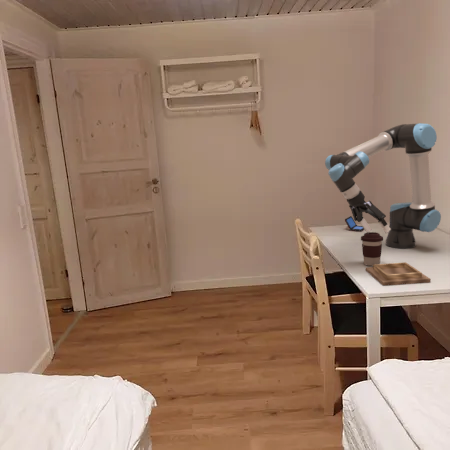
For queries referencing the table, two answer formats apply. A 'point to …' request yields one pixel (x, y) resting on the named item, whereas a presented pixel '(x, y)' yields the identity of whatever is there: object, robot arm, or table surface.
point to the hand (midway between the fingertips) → (378, 231)
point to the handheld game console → (353, 225)
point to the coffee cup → (371, 248)
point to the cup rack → (396, 274)
